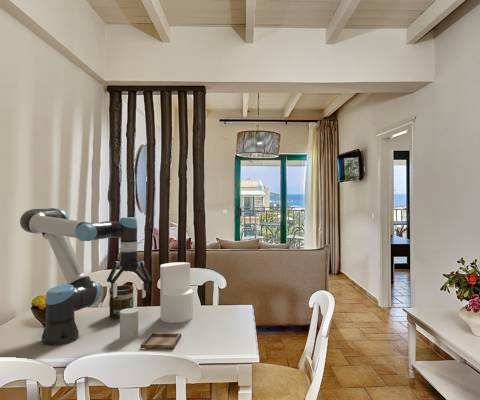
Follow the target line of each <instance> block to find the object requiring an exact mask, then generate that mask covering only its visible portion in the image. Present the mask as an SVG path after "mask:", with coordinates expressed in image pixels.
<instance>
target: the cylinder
mask: <svg viewBox="0 0 480 400" xmlns="http://www.w3.org/2000/svg"><path fill="white" fill-rule="evenodd" d="M159 270H160V271H159V273H160V274H159V275H160V276H159V277H160V279H159V282H160V283H159V284H160V286H159V287H160V288H159V289H160V290H159V291H160V299H159V301H160V302H159V303H160V308H159V309H160V320H161V321H162V322H165V323H173V324H175V323H184V322H188V321H191V320H192V319H193V318H194V290H193V289H192V288H191V262H185V261H183V262H182V261H181V262H180V261H178V262H177V261H176V262H168V263H167V262H166V263H163V264H160V267H159Z"/></svg>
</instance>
